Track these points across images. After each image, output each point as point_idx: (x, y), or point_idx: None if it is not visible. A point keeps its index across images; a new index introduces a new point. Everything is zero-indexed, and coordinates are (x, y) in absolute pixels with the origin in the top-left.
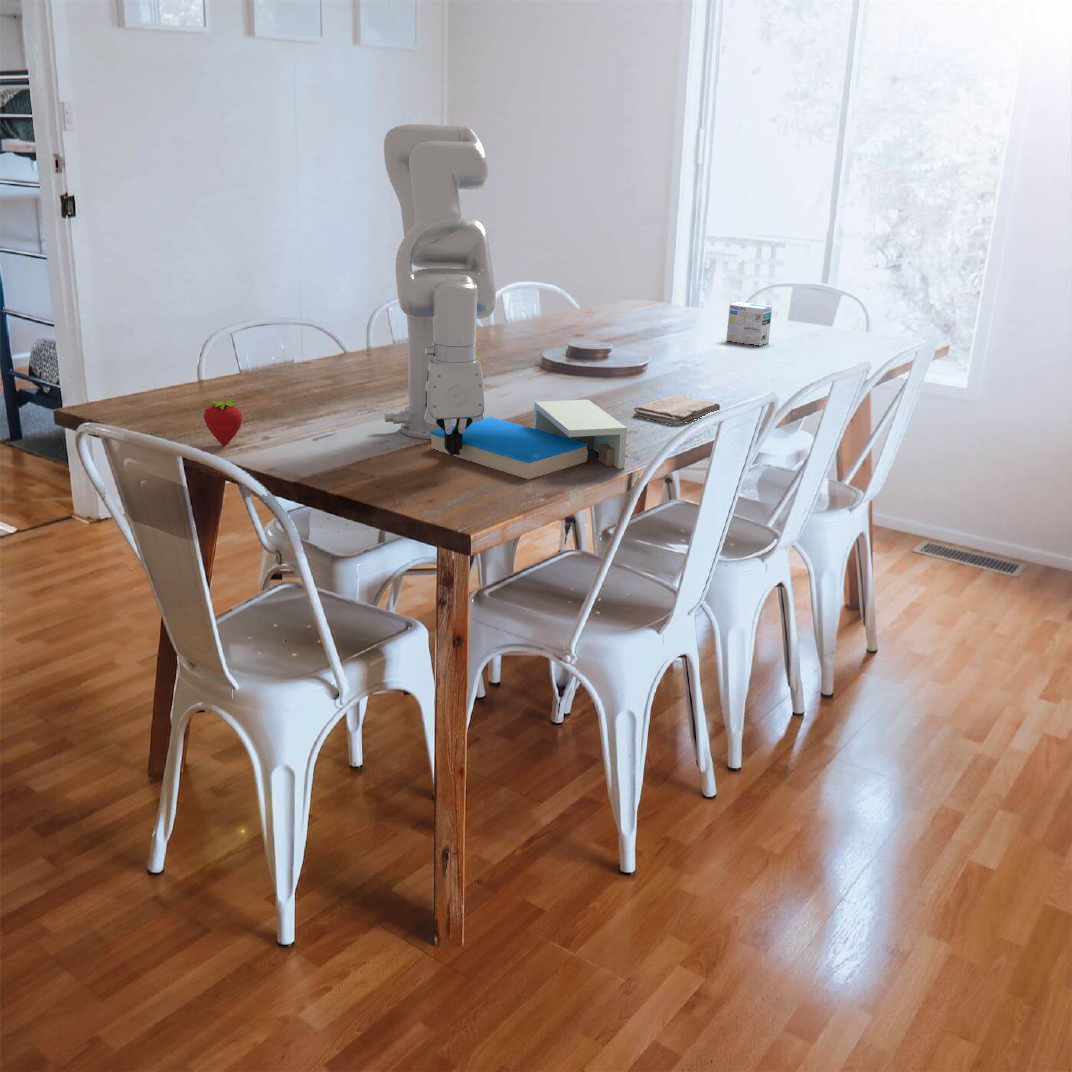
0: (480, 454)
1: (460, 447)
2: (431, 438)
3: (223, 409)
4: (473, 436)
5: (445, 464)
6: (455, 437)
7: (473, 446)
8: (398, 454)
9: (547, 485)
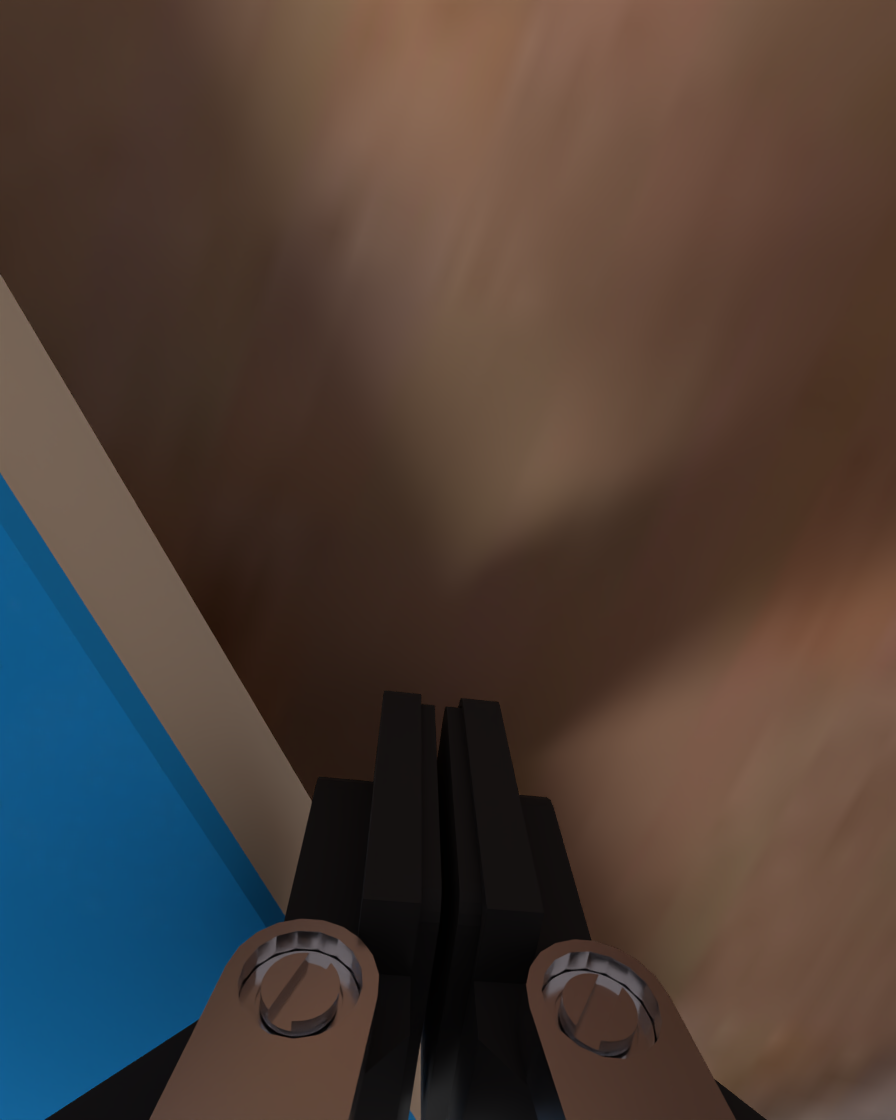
0: (107, 581)
1: (345, 783)
2: None
3: None
4: (40, 1072)
5: (553, 644)
6: (437, 884)
7: (155, 721)
8: (837, 1028)
9: None
